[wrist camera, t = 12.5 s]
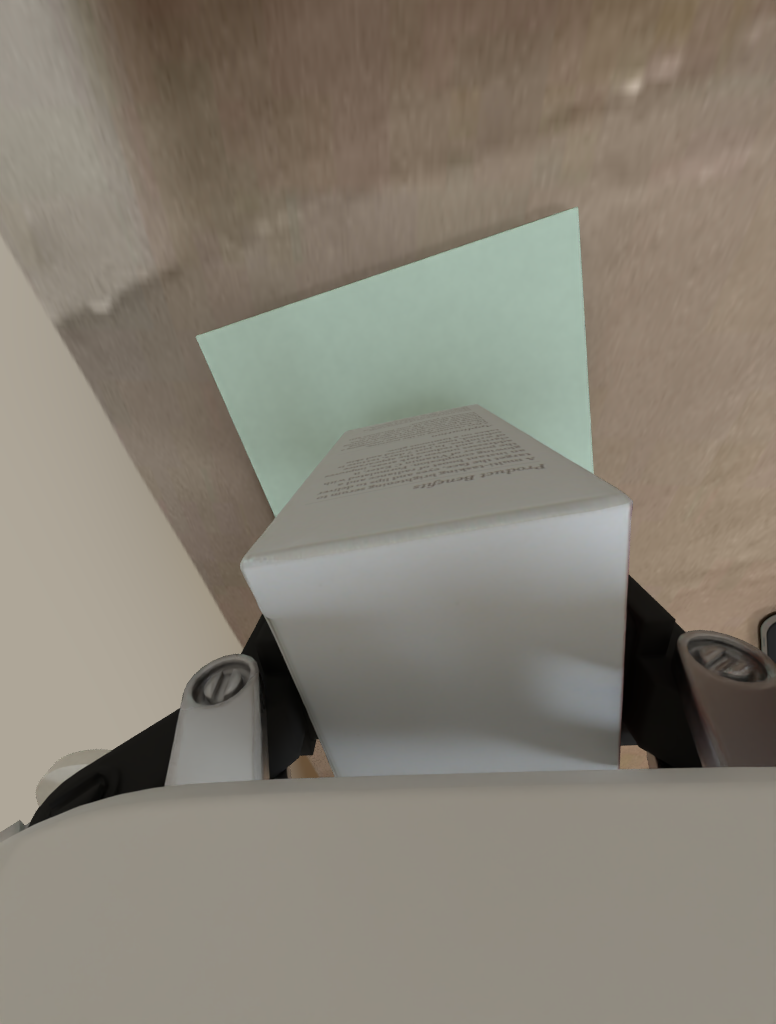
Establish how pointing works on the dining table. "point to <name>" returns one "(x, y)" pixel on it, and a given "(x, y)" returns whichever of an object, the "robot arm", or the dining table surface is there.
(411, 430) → the small box
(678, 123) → the dining table surface
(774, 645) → the smartphone
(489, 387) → the mat
